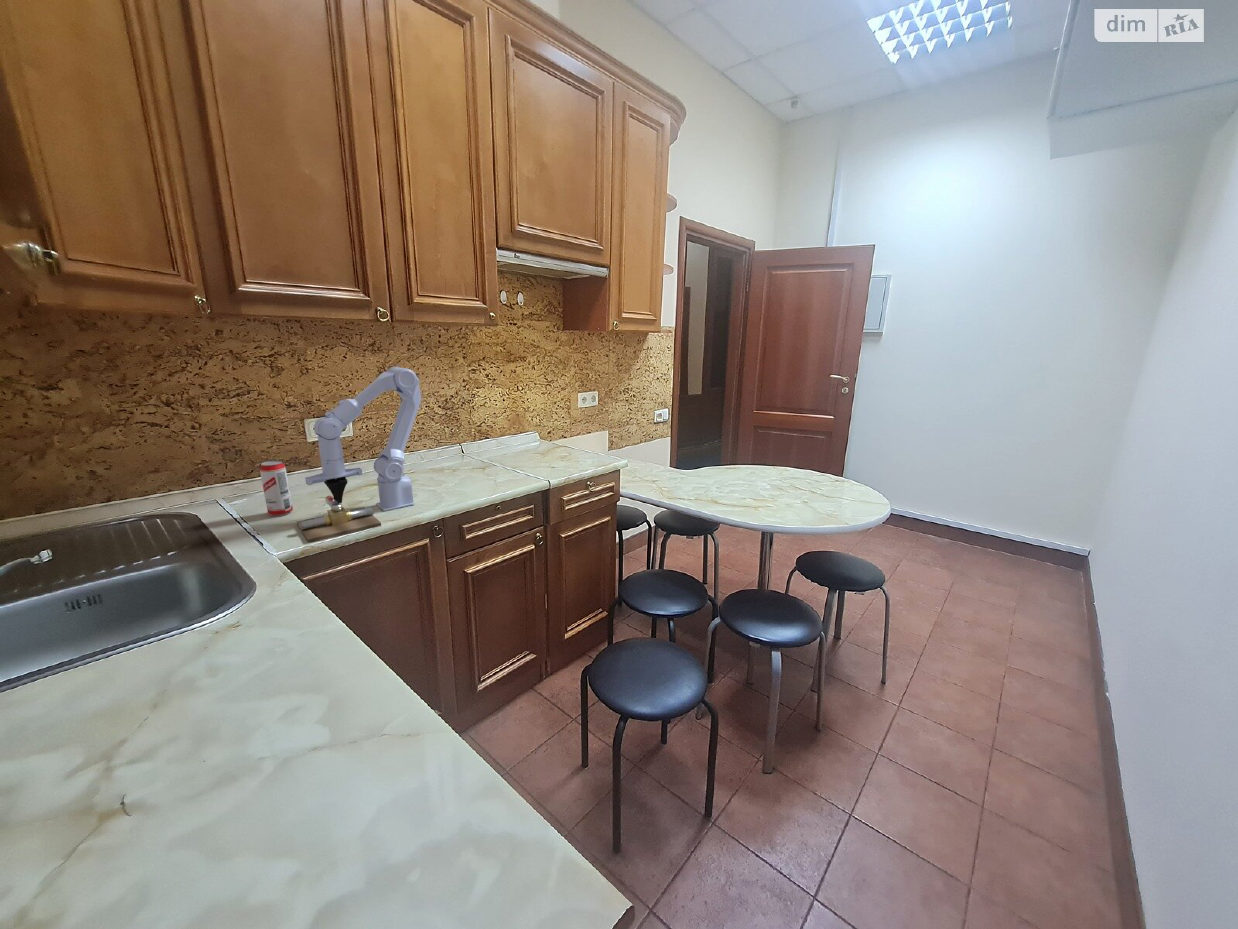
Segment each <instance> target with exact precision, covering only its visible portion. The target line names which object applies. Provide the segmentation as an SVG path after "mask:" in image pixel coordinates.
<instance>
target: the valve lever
mask: <svg viewBox="0 0 1238 929" xmlns="http://www.w3.org/2000/svg"><path fill="white" fill-rule="evenodd" d="M324 499H325V502H326V503H327V504H328V505H329V507H330V508H331V509H330V510H332V511H337V510H341V509H342V507H343V506H342V503H338V502H337V501H336V500H335V499H334V497H333V495H327V496H325V497H324Z"/></svg>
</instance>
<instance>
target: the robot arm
mask: <svg viewBox="0 0 1238 929" xmlns="http://www.w3.org/2000/svg"><path fill="white" fill-rule="evenodd" d="M420 389H421V388H420V379H419V377H418V376H417V375H416V373H415V372H414V371H413V370H412V369H409V368H406V367H405V368H403V367H400V366H392V367H390V368H388V369H387V371H383V372H382V373H381V374H379V376H378V377H376V378H375V379H374V380H373V381H372V382H371V383H370V384H368V385H367V386H366V387H364V389H363V390H362V391H361V392H360V393H358V394H357V395H356V396H355V397H354V398H346V399H344V400H342V399H340V400H339V401H338V402H337V403H338V405H337V406H336V407H334V408H333V409H332V410H330V411H329V412H328V411H326V412H325V413H324V416H322V417H319V418H318V419H317V420H315V422H314V424H313V428H312V429H313V431H314V432H315V433H316V434H317V441H318V444H317V445H318V451H319V459H320V463H321V470H322V473H318V474H315V475H311V476H307V477H306V476H305V478H304V479H305V484H306V485H307V486H311V485H314V484H318V483H319V484H320V483H324V484H325V485H326V487H327V488H328V490H329V492H330V493H331V494H332V495H331V496H332V497H333V498H334V499H335V500H336V501H337V502H338V503H339V504H342V503H343V498H344V497H343V496H344V492H345V489H346V486H347V484H348V479H347V478H349V477H354V476H362V475H363V469H362V468H361V467H354V468H346V466H345V459H344V458H345V457H344V454H343V453H344V452H343V444H342V441H341V440H342V439H341V435H342V432H343V429H344V428H345V429H346V427H347V426H349V425H350V424H351V423H352V422H353V421H355V420H356V419H357V418H359V417H360V416H361V415H362V414H363V407H365V406H366V405H368V404H369V403H371V401H373V400H374V399H376V398H377V397H379V396H380V395H381V394H383V393H384V392H386V391H387V392H388V391H396V392H397V394H398V396H399V397H400V398H401V403H400V406H399V408H398V411H397V415H396V418H395V420H394V422H393V426H392V429H391V430H390V431H391V432H390V434H389V437H388V440H387V443H386V446H385V447H384V448H383V450H381V453H380V454H379V456H378V457H377V458H376V459H375V460H374V463H373V469H374V471H375V473H377V474H378V475H377V478H376V480H377V487H378V490H377V491H378V496H379V502H376V503H375V505H376V506H377V507H378V508H380V509H381V510H382V511H383V512H386V511H391V510H395V509H396V510H397V509H401V508H405V507H409V506H413V505H415V502H414V501H415V500H414V494H413V493H414V492H413V485H412V484H413V483H412V482H411V478H410V477H409V476H405V475H404V473H405V468H404V463H405V454H404V453H405V449H406V447H407V444H408V440H409V439H410V438H409V437H410V435H411V432H412V429H413V426H414V423H415V420H416V417H417V414H418V411H419V409H420V406H421V402H422V394H421V390H420ZM403 475H404V476H403Z"/></svg>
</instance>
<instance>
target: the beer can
mask: <svg viewBox="0 0 1238 929" xmlns="http://www.w3.org/2000/svg"><path fill="white" fill-rule="evenodd" d="M260 465H261V466H260V469H259V474H260V478H261V479H260V480H261V483H262V488H263V494H264V498H265V499H264V500H265V505H266V510H267V513H268V515H270V516H272V517H283V516H286V515H289V514H291V512H292V511H293V510H294V507H293V502H292V496H291V491H290V484H289V479H288V474H287V468H286V466H285V464H284V463H283V461H282V460H267V461H263V462H261V463H260Z"/></svg>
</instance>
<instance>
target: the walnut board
mask: <svg viewBox="0 0 1238 929" xmlns="http://www.w3.org/2000/svg"><path fill="white" fill-rule="evenodd" d="M364 508H366V507H365V506H364V507H361V508H360V507H359V508H354V509H349V510H350V511H355V510H359V509H364ZM321 517H324V515H321V516H316V517H312V518H307V519H301V520H297V521H296V526H297V527H298V529H299V531H300V532H301V534H302V535H303V537H304V539H305V540H306V541H307V543H308V544H311V543H316V542H318V541H324V540H327V539H333V538H337V537H339V536H345V535H349V534H352V533H353V534H354V533H356V532H361V531H365V530H370V529H374V528H378V527H382V522H381V521H380V520H379V519H378V518H377V517H375V515H374V514H373V515H370V516H365V517H361V518H356V519H352V521H348V523H344V524H339V525H335V526H332V525H329V526H326V525H324V526H320V527H315V528H311V529H306V530H302V529H301V526H300V522H302V521H307V520H312V519H316V518H321Z"/></svg>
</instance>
